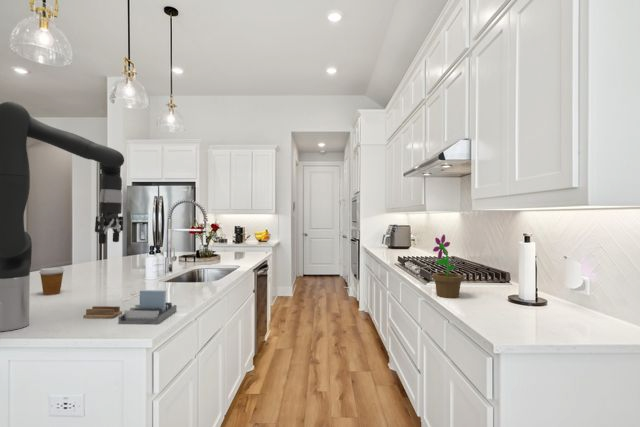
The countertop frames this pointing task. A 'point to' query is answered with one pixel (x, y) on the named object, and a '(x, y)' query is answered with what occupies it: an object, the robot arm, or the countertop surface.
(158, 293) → the plate
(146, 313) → the dish rack
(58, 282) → the disposable coffee cup
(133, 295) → the scissors
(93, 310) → the plate stand
